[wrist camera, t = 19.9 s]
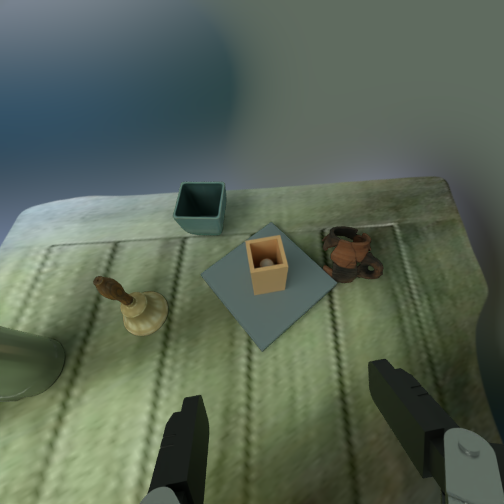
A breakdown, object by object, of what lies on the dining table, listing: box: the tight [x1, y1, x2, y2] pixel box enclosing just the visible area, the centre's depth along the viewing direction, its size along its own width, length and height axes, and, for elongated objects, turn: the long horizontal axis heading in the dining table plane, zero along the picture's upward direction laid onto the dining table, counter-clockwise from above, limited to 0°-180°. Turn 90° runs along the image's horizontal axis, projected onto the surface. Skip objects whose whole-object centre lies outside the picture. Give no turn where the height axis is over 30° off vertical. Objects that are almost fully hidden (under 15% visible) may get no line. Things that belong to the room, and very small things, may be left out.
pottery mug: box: [322, 226, 383, 283], centre depth 49 cm, size 12×10×8 cm
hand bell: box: [93, 276, 168, 336], centre depth 41 cm, size 8×8×16 cm
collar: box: [245, 235, 288, 295], centre depth 44 cm, size 6×6×10 cm
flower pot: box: [173, 182, 226, 235], centre depth 53 cm, size 9×9×9 cm
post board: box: [201, 222, 337, 352], centre depth 46 cm, size 18×18×8 cm
